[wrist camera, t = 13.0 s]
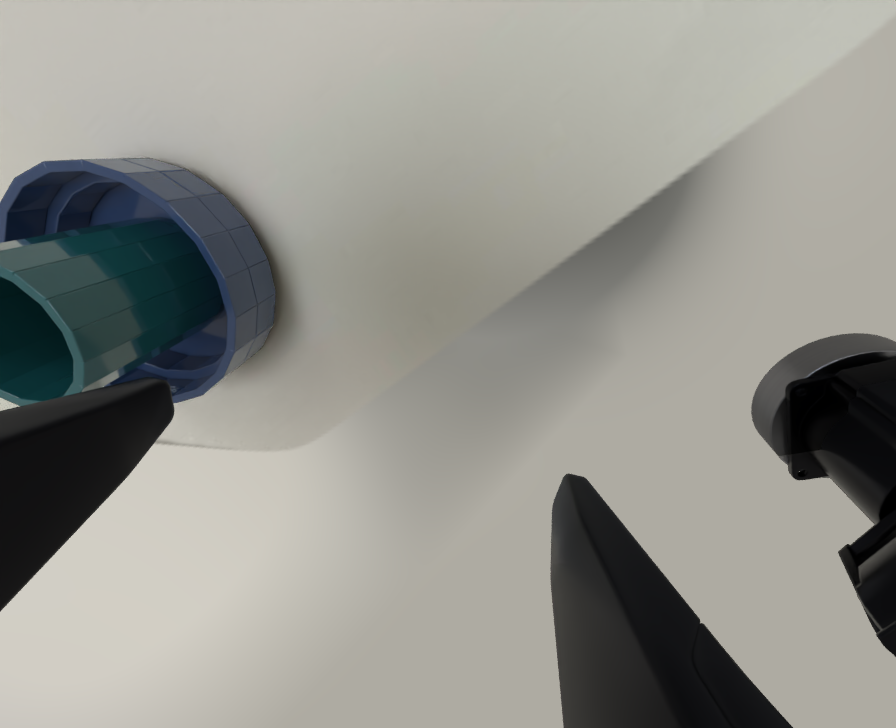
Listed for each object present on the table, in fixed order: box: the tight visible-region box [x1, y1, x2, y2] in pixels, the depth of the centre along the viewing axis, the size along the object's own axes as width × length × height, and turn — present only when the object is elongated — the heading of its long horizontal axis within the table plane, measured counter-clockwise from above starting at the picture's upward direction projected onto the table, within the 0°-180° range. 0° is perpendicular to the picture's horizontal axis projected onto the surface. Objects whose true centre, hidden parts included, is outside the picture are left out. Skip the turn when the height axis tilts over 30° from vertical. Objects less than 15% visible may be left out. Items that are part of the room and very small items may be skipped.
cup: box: [0, 217, 225, 406], centre depth 17 cm, size 6×6×8 cm
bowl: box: [0, 158, 276, 403], centre depth 20 cm, size 11×11×4 cm
